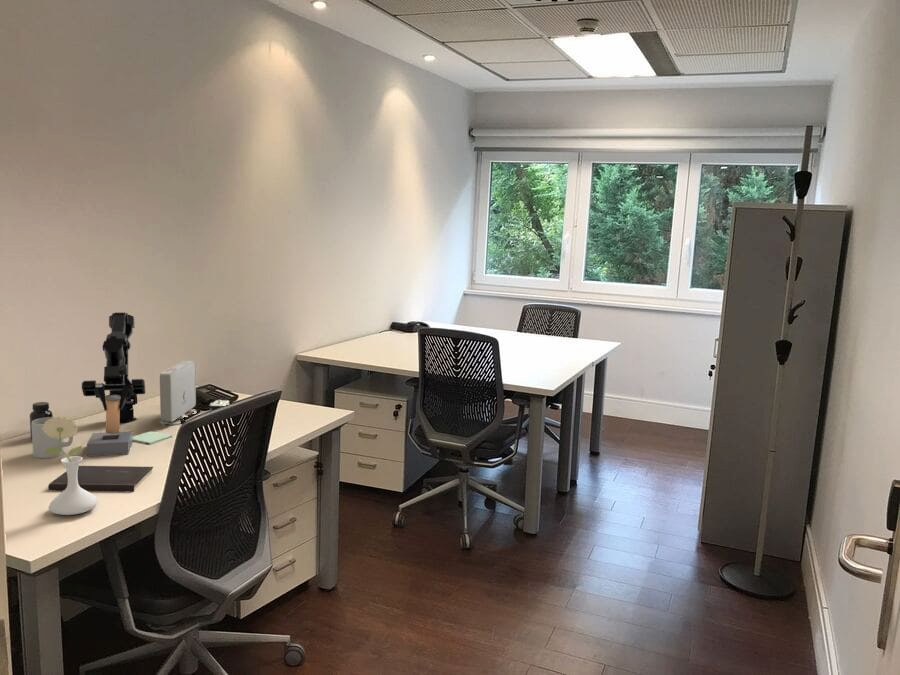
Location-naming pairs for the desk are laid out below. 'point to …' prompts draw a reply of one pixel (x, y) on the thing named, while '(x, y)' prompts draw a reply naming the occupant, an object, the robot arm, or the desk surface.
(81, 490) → the flower in vase
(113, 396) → the plug
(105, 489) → the hardcover book
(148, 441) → the mat
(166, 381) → the network device
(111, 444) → the grey peg hole block
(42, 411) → the supplement bottle
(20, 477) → the desk surface
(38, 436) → the mug
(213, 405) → the pneumatic valve
